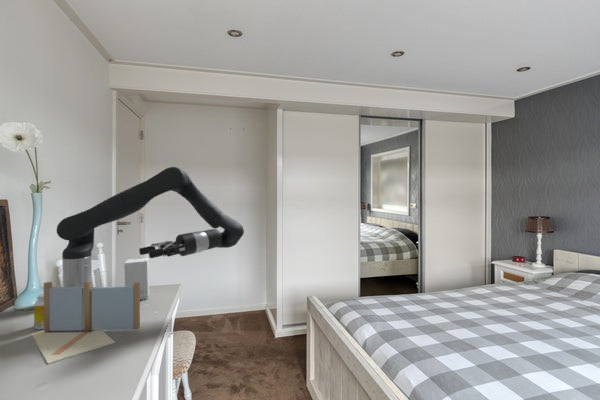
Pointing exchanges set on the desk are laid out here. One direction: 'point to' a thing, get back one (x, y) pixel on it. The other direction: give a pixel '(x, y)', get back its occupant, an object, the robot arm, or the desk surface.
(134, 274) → the skincare box
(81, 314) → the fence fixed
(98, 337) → the card
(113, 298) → the fence panel
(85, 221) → the robot arm
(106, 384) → the desk surface
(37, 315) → the supplement bottle
